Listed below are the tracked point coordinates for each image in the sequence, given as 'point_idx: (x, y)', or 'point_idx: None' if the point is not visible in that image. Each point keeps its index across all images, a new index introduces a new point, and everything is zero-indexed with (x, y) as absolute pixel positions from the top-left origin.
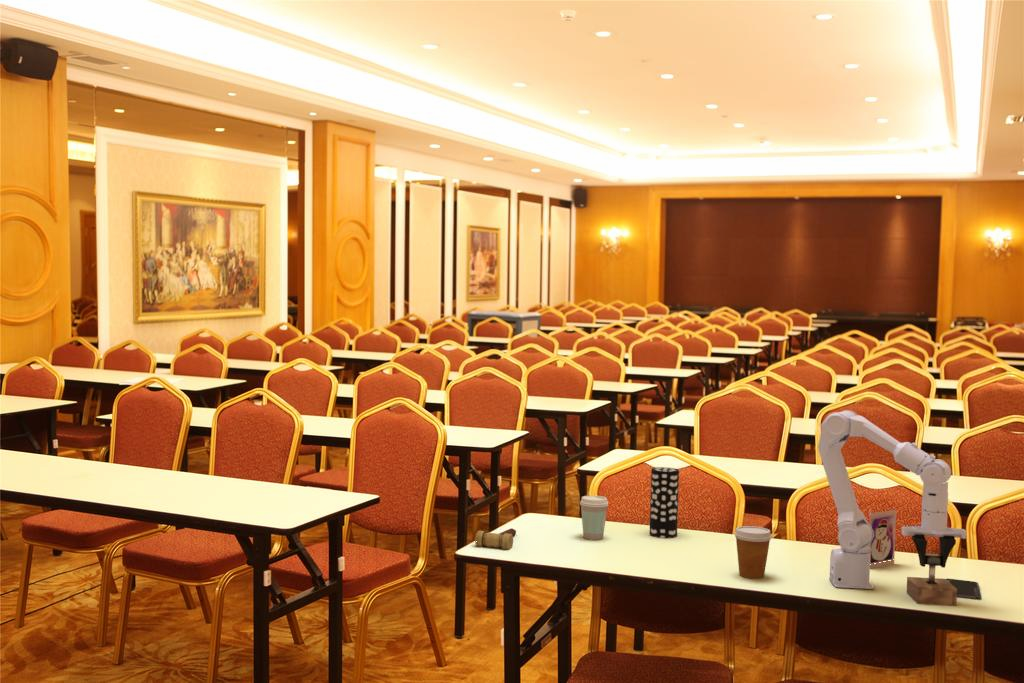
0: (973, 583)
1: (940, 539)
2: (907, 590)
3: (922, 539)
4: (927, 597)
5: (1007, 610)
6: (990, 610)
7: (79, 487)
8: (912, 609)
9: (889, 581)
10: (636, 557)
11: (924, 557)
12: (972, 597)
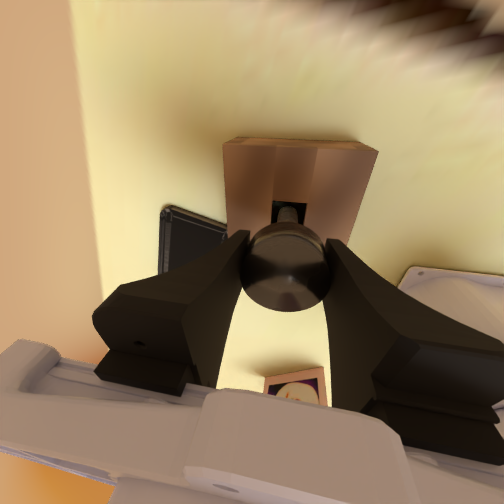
0: None
1: (214, 375)
2: None
3: (449, 370)
4: (330, 143)
5: (101, 107)
6: (146, 96)
7: None
8: (436, 41)
9: (322, 315)
10: None
11: (346, 258)
12: (179, 210)
